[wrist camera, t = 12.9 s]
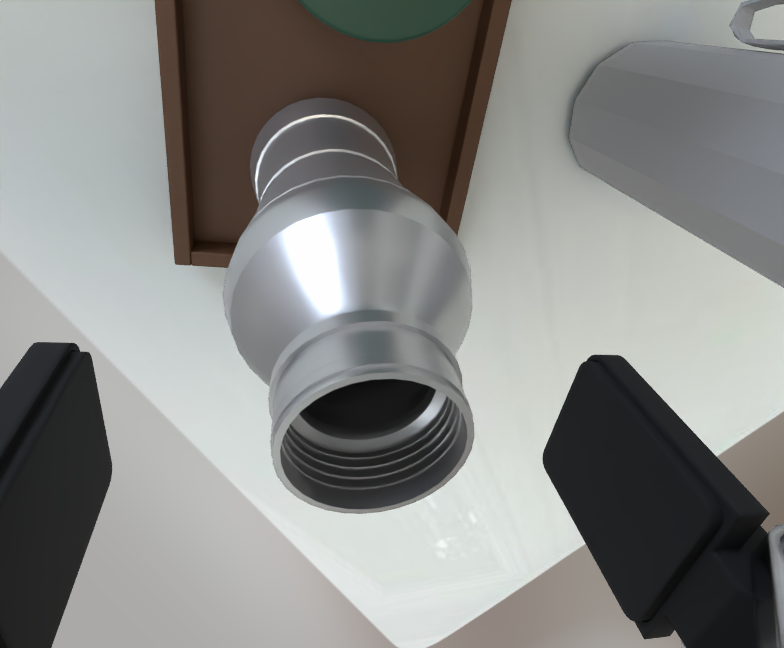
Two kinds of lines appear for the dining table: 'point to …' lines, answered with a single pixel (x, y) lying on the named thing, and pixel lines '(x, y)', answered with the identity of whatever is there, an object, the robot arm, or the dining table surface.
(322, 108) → the silver metal bottle
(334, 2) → the green bottle
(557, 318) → the dining table surface
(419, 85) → the tray
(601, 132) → the water bottle
